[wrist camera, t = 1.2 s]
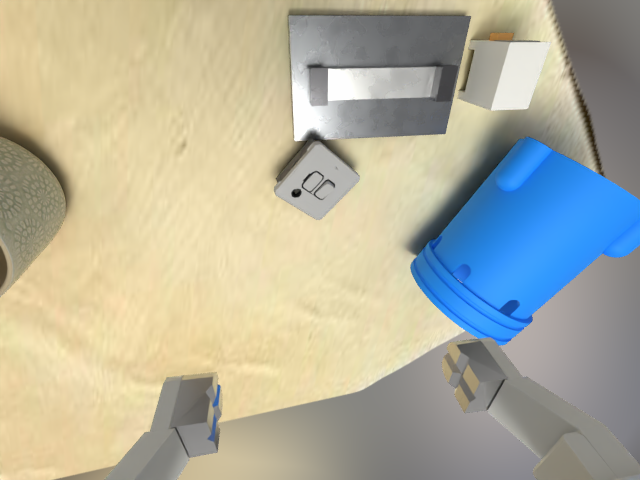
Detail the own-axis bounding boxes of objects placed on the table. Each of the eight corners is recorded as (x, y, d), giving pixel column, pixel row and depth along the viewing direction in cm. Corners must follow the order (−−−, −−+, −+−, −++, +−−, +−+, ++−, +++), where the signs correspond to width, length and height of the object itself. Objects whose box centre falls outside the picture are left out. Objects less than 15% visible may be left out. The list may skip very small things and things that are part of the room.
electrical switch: (271, 194, 43) (320, 149, 39) (268, 171, 46) (313, 127, 42) (317, 223, 49) (364, 186, 44) (312, 200, 52) (356, 164, 48)
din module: (471, 32, 40) (512, 33, 34) (507, 32, 41) (553, 33, 35) (456, 98, 45) (490, 110, 38) (489, 97, 45) (527, 109, 39)
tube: (470, 278, 66) (536, 357, 51) (389, 245, 58) (438, 327, 42) (566, 177, 56) (689, 237, 40) (485, 119, 47) (599, 165, 31)
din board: (288, 15, 36) (291, 14, 33) (464, 16, 39) (485, 15, 36) (293, 137, 44) (296, 147, 41) (440, 131, 47) (455, 139, 43)
